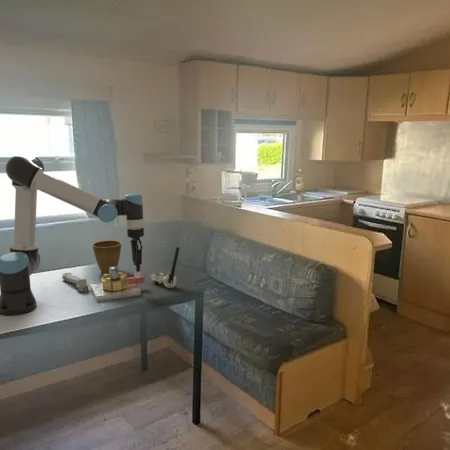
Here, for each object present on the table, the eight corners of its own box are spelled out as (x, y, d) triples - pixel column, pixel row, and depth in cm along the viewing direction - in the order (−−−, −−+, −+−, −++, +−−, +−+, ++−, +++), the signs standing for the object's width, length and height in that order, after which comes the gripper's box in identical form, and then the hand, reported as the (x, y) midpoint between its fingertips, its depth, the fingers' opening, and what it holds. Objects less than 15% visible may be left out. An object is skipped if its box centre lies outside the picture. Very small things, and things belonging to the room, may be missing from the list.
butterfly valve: (146, 281, 232) (162, 287, 218) (154, 242, 233) (171, 245, 219) (161, 283, 237) (177, 289, 223) (169, 245, 238) (186, 248, 224)
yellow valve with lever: (104, 292, 208) (103, 280, 207) (100, 284, 219) (99, 273, 218) (147, 286, 216) (146, 275, 215) (141, 279, 227) (140, 268, 226)
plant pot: (98, 268, 255) (96, 240, 252) (125, 268, 255) (124, 240, 252) (90, 276, 241) (88, 246, 238) (118, 276, 241) (117, 246, 238)
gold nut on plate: (96, 301, 204) (94, 275, 202) (90, 289, 220) (88, 265, 218) (140, 295, 212) (139, 270, 210) (131, 284, 228) (130, 260, 226)
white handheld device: (70, 271, 237) (89, 276, 217) (72, 284, 238) (91, 290, 218) (60, 273, 234) (78, 278, 214) (61, 286, 234) (80, 292, 215)
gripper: (147, 229, 205) (149, 280, 210) (140, 224, 217) (142, 272, 221) (130, 231, 202) (133, 282, 207) (124, 226, 214) (126, 274, 218)
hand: (137, 277), depth 214 cm, fingers closed
